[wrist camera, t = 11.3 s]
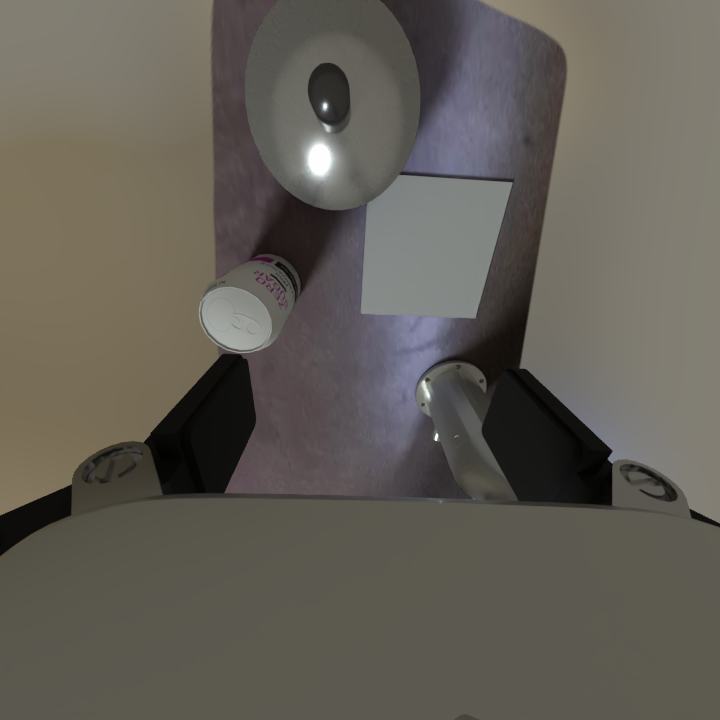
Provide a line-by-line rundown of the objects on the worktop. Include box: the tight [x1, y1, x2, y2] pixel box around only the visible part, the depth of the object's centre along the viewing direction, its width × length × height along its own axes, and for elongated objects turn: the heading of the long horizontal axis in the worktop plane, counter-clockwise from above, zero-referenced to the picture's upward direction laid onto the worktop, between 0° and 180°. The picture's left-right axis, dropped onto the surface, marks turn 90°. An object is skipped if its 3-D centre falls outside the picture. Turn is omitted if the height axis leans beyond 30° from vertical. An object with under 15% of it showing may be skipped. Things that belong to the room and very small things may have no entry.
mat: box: [361, 175, 513, 318], centre depth 39 cm, size 18×18×1 cm
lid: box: [245, 0, 421, 210], centre depth 24 cm, size 16×16×6 cm
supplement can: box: [199, 254, 300, 353], centre depth 34 cm, size 8×8×15 cm
